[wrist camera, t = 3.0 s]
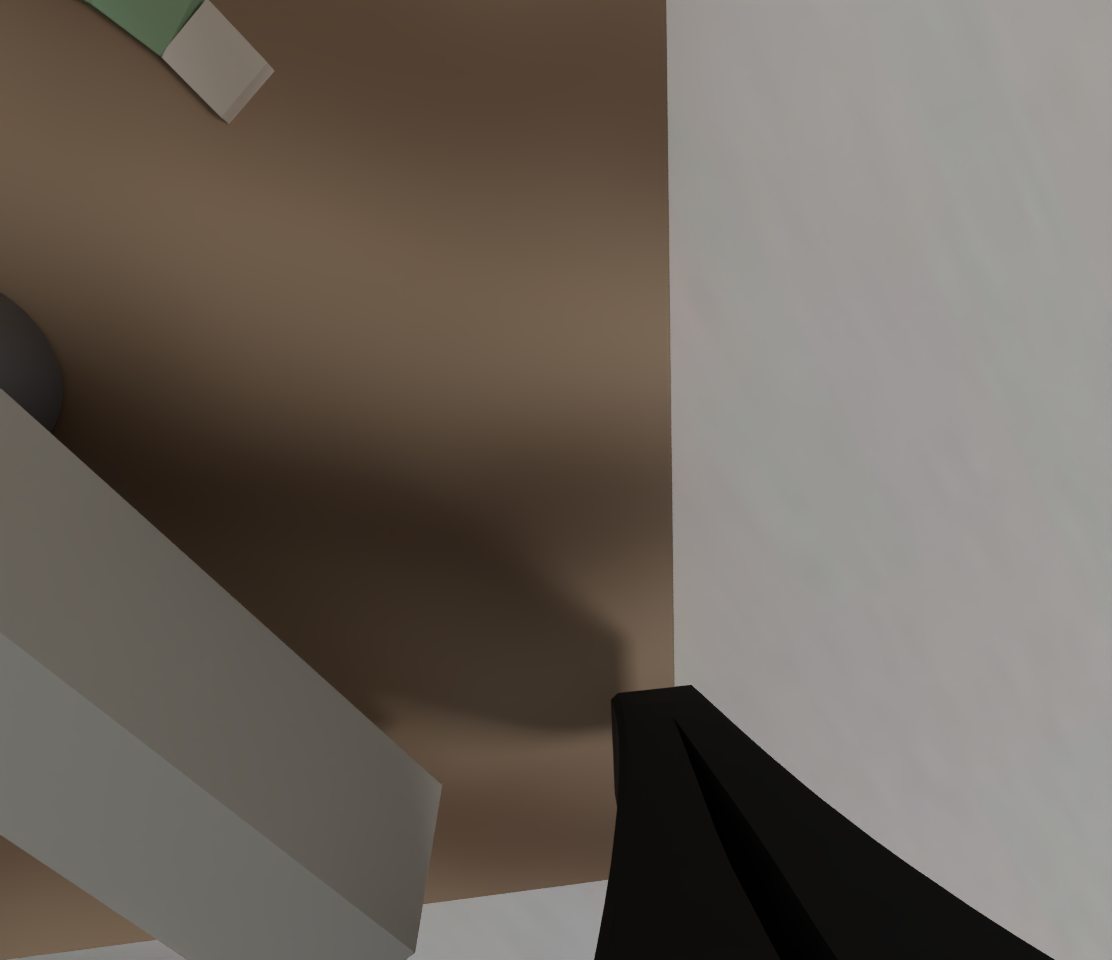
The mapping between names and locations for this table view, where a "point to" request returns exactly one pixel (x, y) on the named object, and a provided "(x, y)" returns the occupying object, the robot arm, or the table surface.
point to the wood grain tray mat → (372, 369)
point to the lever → (181, 727)
